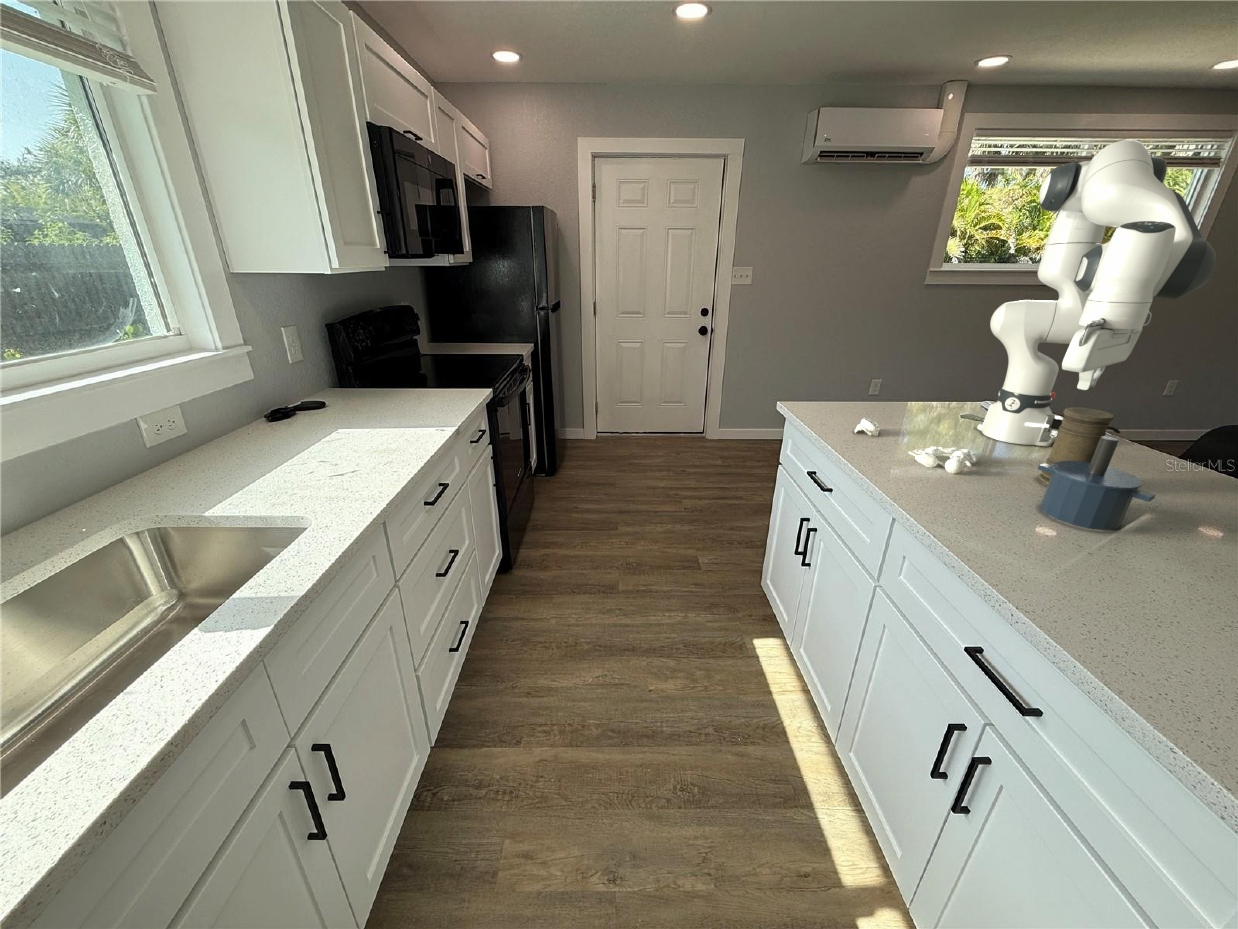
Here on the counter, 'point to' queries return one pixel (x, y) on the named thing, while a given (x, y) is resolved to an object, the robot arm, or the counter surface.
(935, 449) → the tangled rod sculpture
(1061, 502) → the pot
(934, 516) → the counter surface
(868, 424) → the white arched lump
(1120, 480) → the lid
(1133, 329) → the robot arm
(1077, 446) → the container
